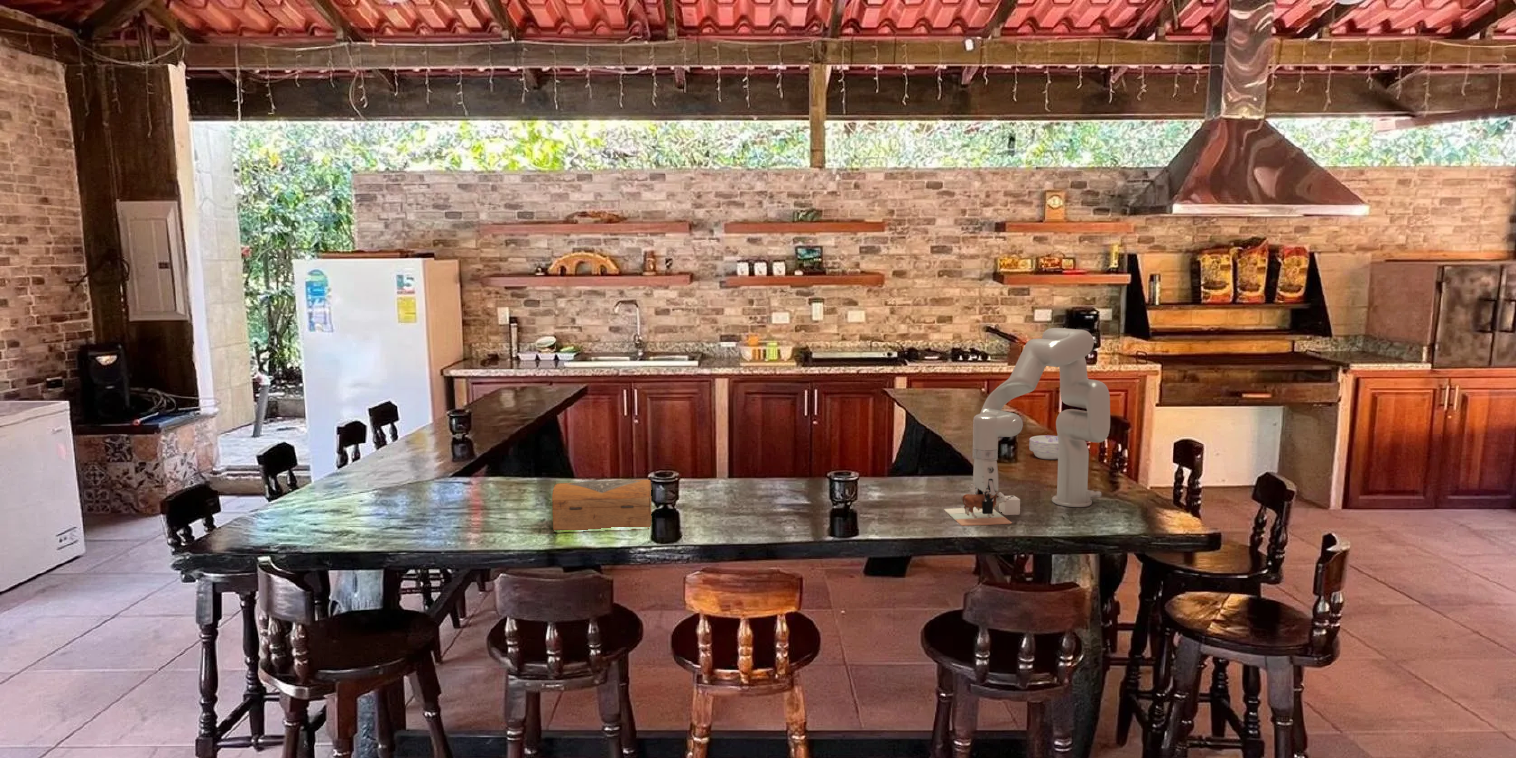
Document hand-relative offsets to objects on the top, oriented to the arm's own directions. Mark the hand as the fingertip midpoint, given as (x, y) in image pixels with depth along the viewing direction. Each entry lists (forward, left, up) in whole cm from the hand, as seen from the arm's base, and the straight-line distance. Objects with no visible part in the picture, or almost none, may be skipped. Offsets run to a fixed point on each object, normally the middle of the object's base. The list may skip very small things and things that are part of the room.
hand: (984, 510), depth 273 cm
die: (-12, -9, -4) cm, 15 cm away
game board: (0, -6, -4) cm, 7 cm away
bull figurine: (0, 0, -2) cm, 2 cm away
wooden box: (+118, -16, -4) cm, 119 cm away
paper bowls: (-59, -84, -4) cm, 103 cm away
